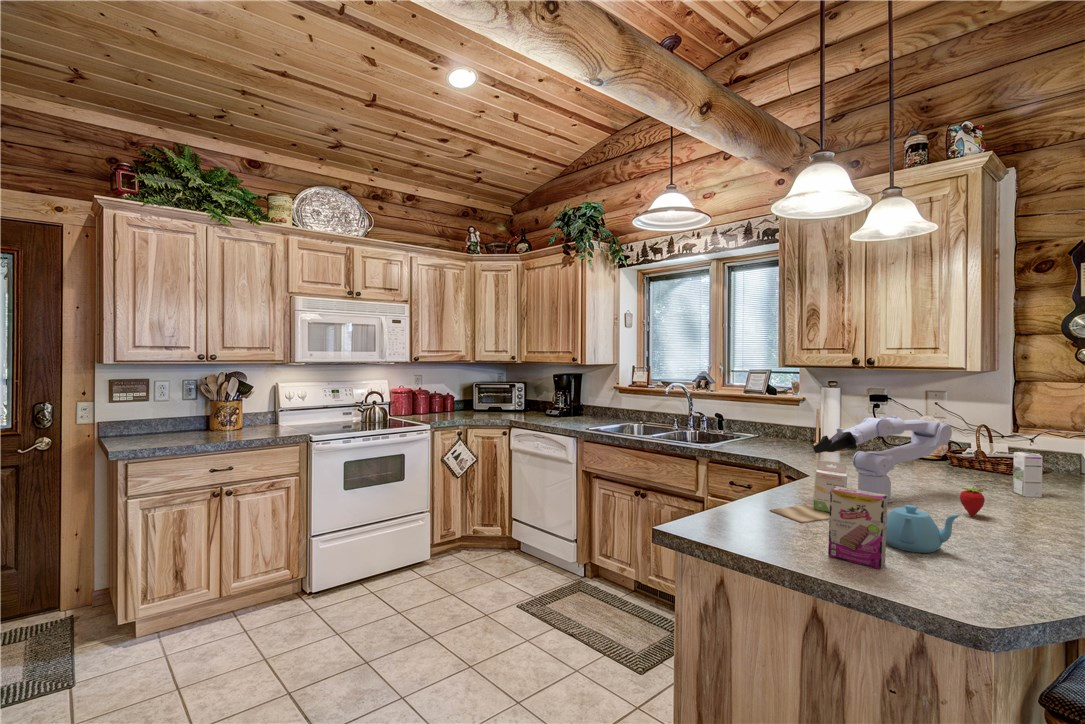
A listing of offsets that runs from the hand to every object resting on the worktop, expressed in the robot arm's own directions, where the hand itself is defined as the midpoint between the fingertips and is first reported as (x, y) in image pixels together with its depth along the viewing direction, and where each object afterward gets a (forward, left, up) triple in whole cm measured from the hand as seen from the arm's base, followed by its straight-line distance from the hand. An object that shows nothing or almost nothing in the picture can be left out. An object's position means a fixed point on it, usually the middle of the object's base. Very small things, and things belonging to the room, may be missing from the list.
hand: (823, 449), depth 170 cm
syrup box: (-79, +14, -18) cm, 82 cm away
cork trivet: (+13, +5, -18) cm, 23 cm away
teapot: (+9, +34, -18) cm, 40 cm away
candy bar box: (+30, +36, -18) cm, 50 cm away
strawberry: (-34, +23, -18) cm, 45 cm away
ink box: (+3, +5, -18) cm, 19 cm away
